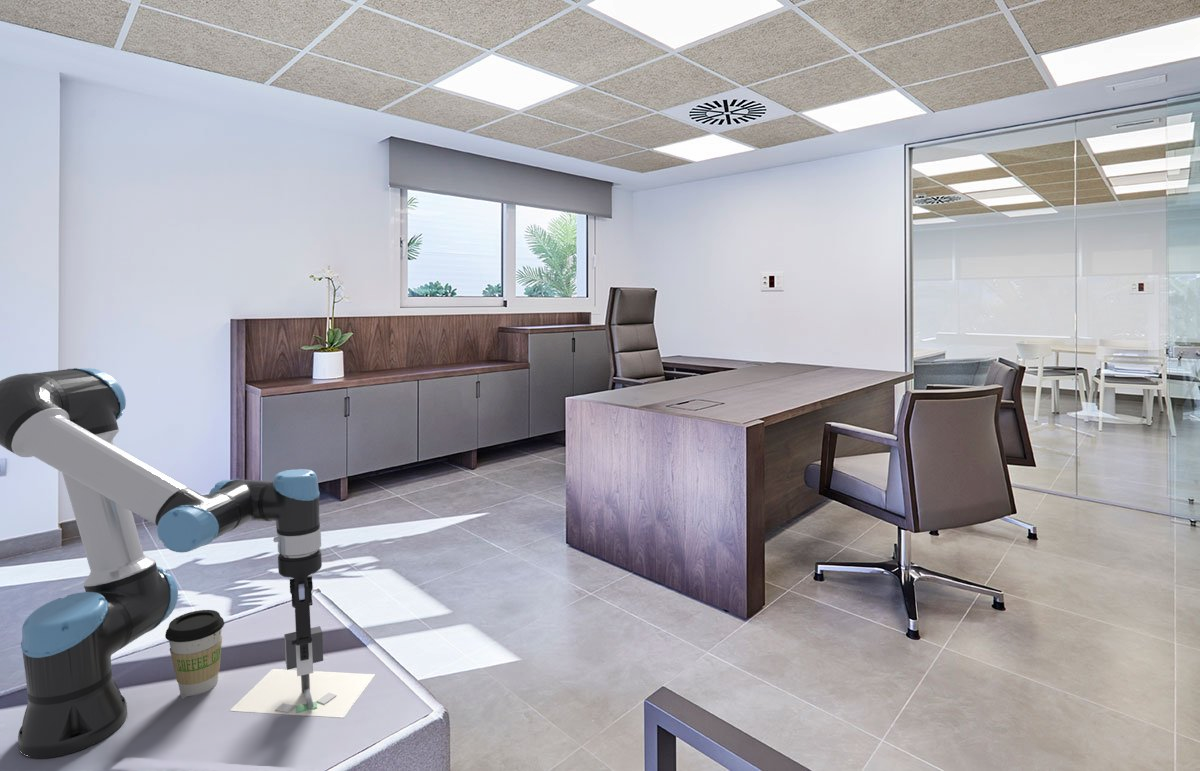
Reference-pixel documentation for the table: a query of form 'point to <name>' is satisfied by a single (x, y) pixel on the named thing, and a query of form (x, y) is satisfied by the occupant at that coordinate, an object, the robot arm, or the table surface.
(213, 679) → the coffee cup
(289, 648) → the dark grey angular piece
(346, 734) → the table surface
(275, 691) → the flat cream board
